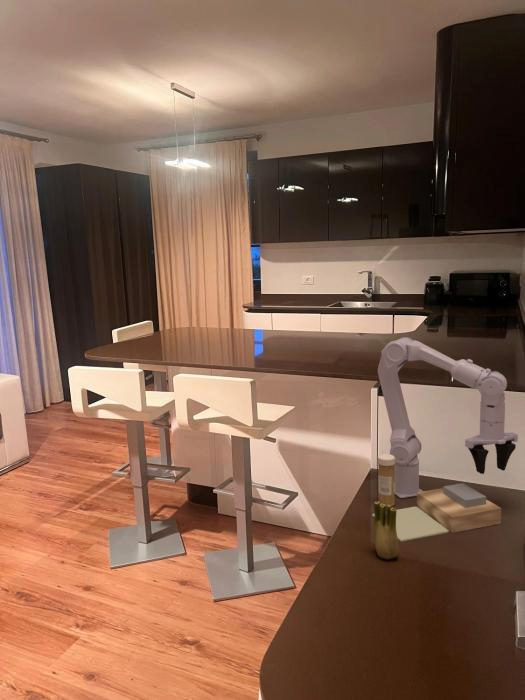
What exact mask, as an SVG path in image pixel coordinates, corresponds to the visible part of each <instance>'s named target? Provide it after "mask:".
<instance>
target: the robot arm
mask: <svg viewBox="0 0 525 700" xmlns="http://www.w3.org/2000/svg"><path fill="white" fill-rule="evenodd" d="M380 352H381V356H380V360H379V364H378V366H377V367H378V368H377V375H378V380H379V384H380V387H381V391H382V396H383V399H384V404H385V408H386V413H387V416H388V420H389V421H388V422H389V425H390V428H391V435H390V439H389V442H390V449H389V454H390V455H393V456H394V457H395V465H394V476H395V496H397V497H399V498H400V499H405V498H411V497H417V492H423V491H424V490H423V489H421V488H420V459H419V457H418V455H419V454H420V452H421V450H422V442H421V440H420V439H419V438H418V437H417V434H416V431H415V429H414V428H413V427H412V426H411V423H410V420H409V419H410V418H409V416H408V410H407V408H406V407H407V406H406V403H405V399H404V395H403V390H402V386H401V382H400V378H399V371H400V369H402V368H403V366H404V365H405V363H406V362H414V361H424V362H426V363H428V364H430V365H433V366H435V367H438V368H440V369H443V370H445V371H447V372H449V373H450V375H451V378H452V379H453V380H456V381H458V382H459V383H461V384H464V385H466V386H468V387H469V388H471V389H474V390H477V391H479V393H480V396H481V397H480V398H481V399H480V406H479V409H480V413H479V434H477V435H475V436H472V437H469V438H465V440H464V445H465V447H466V448H467V449H468V451H469V452H470V455H471V456H472V459H473V462H474V464H475V469H476V472H477V473H478V474H481V475H484V474H485V472H486V463H487V462H486V461H487V457H488V454H489V452H490V451H489V450H488V449H486V448H485V447H484V446H488V445H494V447H495V453H496V467H497V469H499V470H501V471H505V470H506V468H507V465H508V463H509V459H510V457H511V455H512V454H513V452H514V451H515V450H516V447H517V446H516V444H515V443H516V442H519V441H518V439H519V438H518V437H519V434H518V433H515V432H505V420H506V419H505V417H506V416H505V415H506V414H505V413H506V403H505V402H506V401H505V400H506V397H505V391H506V389H507V386H508V381H507V378H506V377H505V376H504V375H503V374H502V373H500V372H499V371H492V369H491V368H488V367H487V368H484V367H481V366H479V365H477V364H475V363H473V362H474V361H473V360H472V359H471V358H468V359H463V358H462V359H459V360H455V359H453V358H451V357H450V356H448V355H445V354H443V353H442V352H440V351H438V350H437V349H434V348H432V347H430V346H428V345H426V344H424V343H422V341H418V340H416V339H414V340H413V339H412V338H410V337H407V336H405V337H400V338H399V339H396V340H392V341H389V342H388V343H387V344H386V345H385V346H384V348H382V350H381V351H380Z"/></svg>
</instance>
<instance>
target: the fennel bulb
mask: <svg viewBox="0 0 525 700" xmlns="http://www.w3.org/2000/svg"><path fill="white" fill-rule="evenodd" d="M373 510H374V513H373V514H375V515H374V517H373V518H374V519H373V521H374V522H373V535H374V536H373V537H374V545H375V550H376V553H377V556H378V557H379V558H380V559H383V560H391V559H394V558H396V557H397V556H398V554H399V550H400V547H399V540H398V537H397V532H396V512H397V511H396V510H397V509H396V508H395V507H392V506H391V505H389V504H388V505H387V506H386V505H385V504H380V502H378V501H374V502H373Z"/></svg>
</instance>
